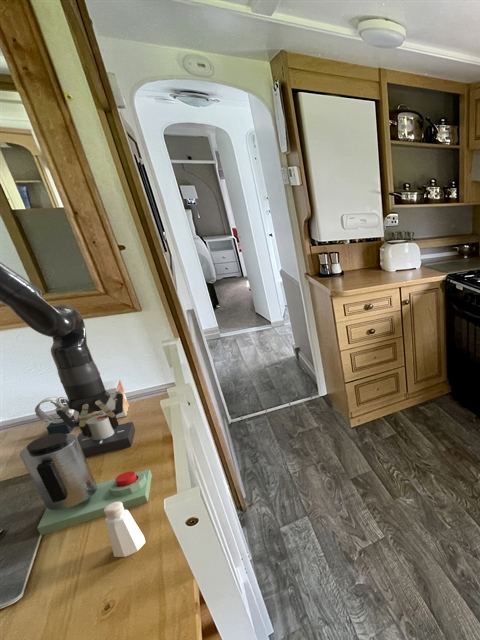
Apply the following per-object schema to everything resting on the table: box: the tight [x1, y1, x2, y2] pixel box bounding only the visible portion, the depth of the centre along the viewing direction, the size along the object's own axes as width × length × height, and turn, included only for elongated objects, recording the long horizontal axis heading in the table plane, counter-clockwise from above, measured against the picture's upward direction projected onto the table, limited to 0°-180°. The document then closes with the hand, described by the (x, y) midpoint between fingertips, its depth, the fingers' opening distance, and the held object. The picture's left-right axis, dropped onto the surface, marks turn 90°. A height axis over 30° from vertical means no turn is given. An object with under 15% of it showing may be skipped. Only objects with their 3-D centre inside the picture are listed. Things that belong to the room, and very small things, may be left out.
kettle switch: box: [114, 470, 137, 487], centre depth 90 cm, size 4×4×2 cm
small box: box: [100, 379, 130, 419], centre depth 123 cm, size 8×6×10 cm
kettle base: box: [36, 468, 153, 536], centre depth 88 cm, size 18×11×4 cm, turn 124°
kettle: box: [19, 433, 98, 510], centre depth 82 cm, size 8×10×15 cm
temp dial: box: [86, 414, 114, 440], centre depth 108 cm, size 5×5×6 cm
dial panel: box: [76, 421, 136, 459], centre depth 109 cm, size 12×10×3 cm
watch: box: [34, 396, 76, 435], centre depth 114 cm, size 6×8×11 cm
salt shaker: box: [104, 502, 147, 558], centre depth 76 cm, size 5×5×11 cm
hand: (101, 431), depth 108 cm, fingers closed on temp dial, 5 cm apart
